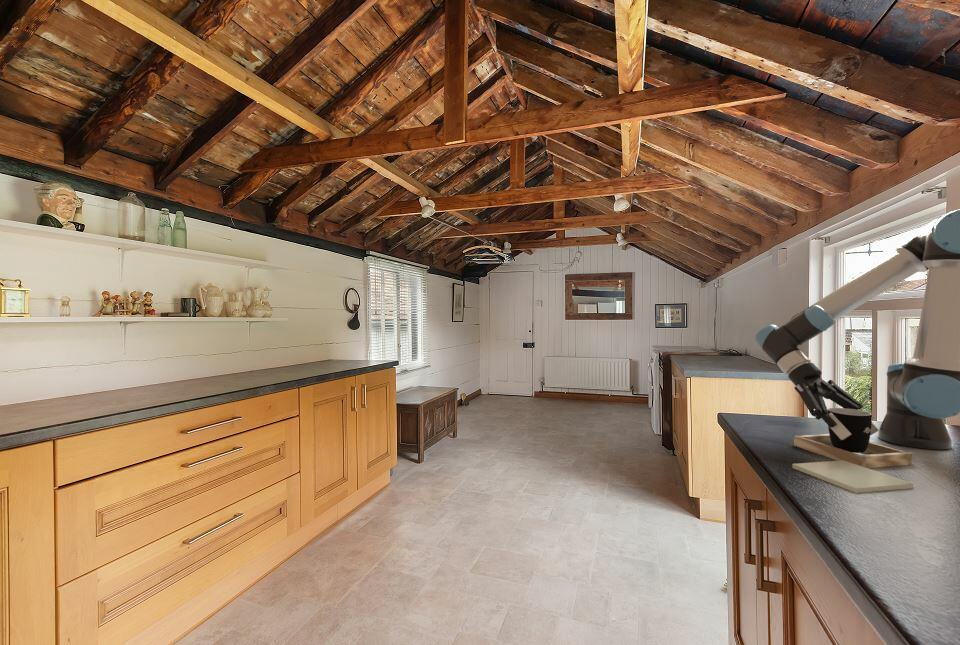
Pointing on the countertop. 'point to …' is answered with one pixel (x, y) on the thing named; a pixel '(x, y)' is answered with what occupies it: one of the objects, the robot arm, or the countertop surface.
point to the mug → (852, 429)
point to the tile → (852, 476)
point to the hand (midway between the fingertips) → (861, 434)
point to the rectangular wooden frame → (877, 458)
